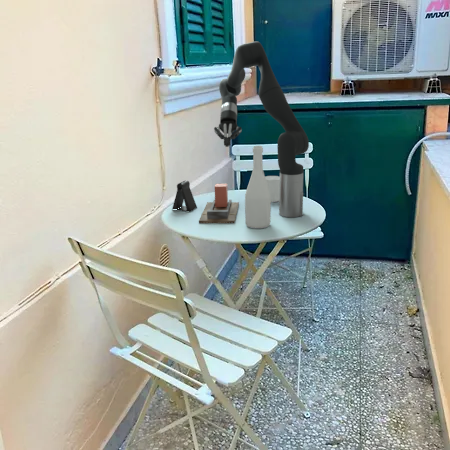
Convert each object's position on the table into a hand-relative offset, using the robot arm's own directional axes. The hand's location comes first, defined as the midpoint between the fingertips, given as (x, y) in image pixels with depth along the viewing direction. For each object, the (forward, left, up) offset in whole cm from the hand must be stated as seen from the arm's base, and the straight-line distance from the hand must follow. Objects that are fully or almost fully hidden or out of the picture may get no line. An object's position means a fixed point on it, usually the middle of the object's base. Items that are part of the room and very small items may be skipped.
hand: (227, 145), depth 196 cm
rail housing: (+2, +21, -25) cm, 33 cm away
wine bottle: (-14, +36, -25) cm, 46 cm away
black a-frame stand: (+18, +15, -25) cm, 34 cm away
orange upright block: (+2, +14, -23) cm, 27 cm away
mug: (-18, 0, -25) cm, 31 cm away
